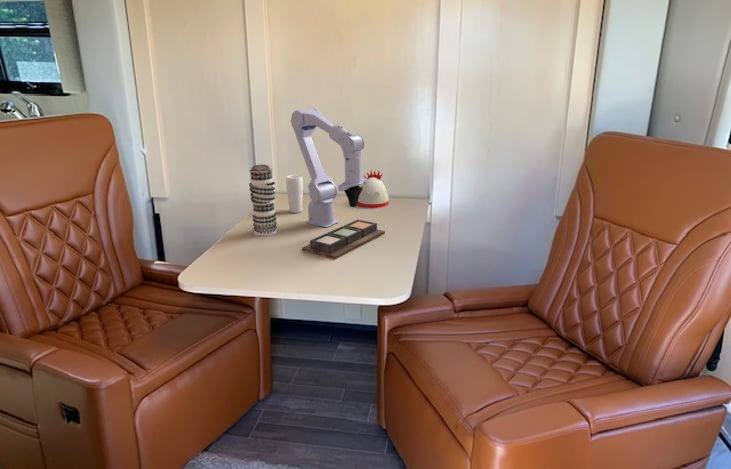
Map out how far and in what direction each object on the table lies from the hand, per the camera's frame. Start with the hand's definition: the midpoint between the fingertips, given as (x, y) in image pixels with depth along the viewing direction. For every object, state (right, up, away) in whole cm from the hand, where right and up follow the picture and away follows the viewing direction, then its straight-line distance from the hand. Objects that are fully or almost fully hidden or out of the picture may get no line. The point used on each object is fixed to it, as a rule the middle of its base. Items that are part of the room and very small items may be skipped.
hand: (353, 206), depth 190 cm
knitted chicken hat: (+8, +3, +40) cm, 41 cm away
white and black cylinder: (-33, -9, +4) cm, 34 cm away
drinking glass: (-25, -1, +29) cm, 38 cm away
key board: (-3, -13, -6) cm, 14 cm away
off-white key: (-8, -14, -14) cm, 21 cm away
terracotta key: (+3, -9, +1) cm, 9 cm away
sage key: (-3, -11, -6) cm, 13 cm away
